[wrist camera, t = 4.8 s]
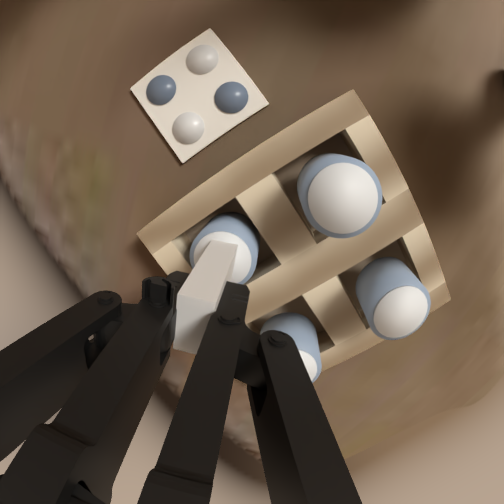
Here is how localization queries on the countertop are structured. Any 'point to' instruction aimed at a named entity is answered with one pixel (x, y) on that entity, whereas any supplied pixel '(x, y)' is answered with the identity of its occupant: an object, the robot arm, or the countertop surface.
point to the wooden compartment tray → (307, 229)
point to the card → (198, 95)
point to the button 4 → (392, 298)
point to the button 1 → (232, 231)
